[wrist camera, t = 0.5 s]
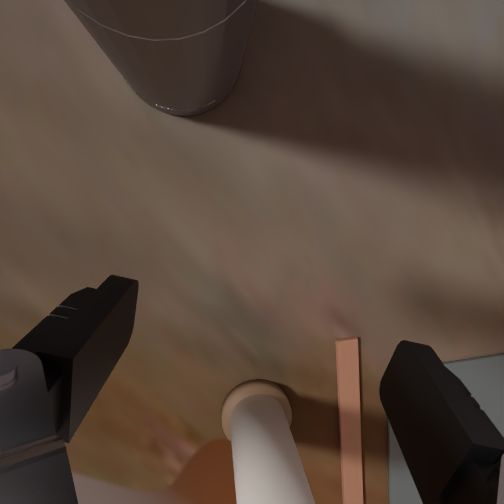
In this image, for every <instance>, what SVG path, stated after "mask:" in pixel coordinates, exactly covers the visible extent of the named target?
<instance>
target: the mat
mask: <svg viewBox="0 0 504 504" xmlns="http://www.w3.org/2000/svg"><path fill="white" fill-rule="evenodd" d="M443 364H444V365H445V367H447V368H448V369H449V370H450V371H451V372H452V373H453V374H455V375H456V376H457V377H458V378H459V379H460V380H461V381H462V382H463V384H464V385H465V386H466V388H467V389H468V390H469V392H470V393H471V397H474V398H475V400H476V401H477V402H478V404H479V405H480V406H481V407H480V409H481V410H484V412H485V413H486V414H487V416H488V417H489V418H490V420H491V421H492V422H493V424H494V425H495V426H496V428H497V429H498V431H499V432H500V433H501V435H502V436H503V437H504V353H503V354H497V355H490V356H483V357H477V358H470V359H464V360H457V361H451V362H444V363H443ZM388 454H389V504H423V503H422V500H421V498H420V495H419V493H418V491H417V488H416V486H415V483H414V481H413V478H412V476H411V473H410V471H409V469H408V466H407V464H406V461H405V459H404V456H403V454H402V451H401V449H400V447H399V444H398V442H397V439H396V437H395V434H394V432H393V429H392V427H391V425H390V422H389V420H388Z"/></svg>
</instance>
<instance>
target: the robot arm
mask: <svg viewBox="0 0 504 504" xmlns="http://www.w3.org/2000/svg"><path fill="white" fill-rule="evenodd" d="M64 1H65V2H66V3H67V5H68V6H69V7H70V8H71V10H72V11H73V12H74V14H75V15H76V16H77V18H78V19H79V20H80V21H81V23H82V24H83V25H84V27H85V28H86V29H87V31H88V32H89V33H90V34H91V36H92V37H93V38H94V40H95V41H96V42H97V44H98V45H99V46H100V47H101V49H102V50H103V51H104V53H105V54H106V55H107V57H108V58H109V59H110V60H111V62H112V63H113V64H114V66H115V67H116V68H117V70H118V71H119V72H120V74H121V75H122V76H123V78H124V79H125V80H126V81H127V83H128V84H129V85H130V87H131V88H132V89H133V90H134V91H135V92H136V94H137V95H138V96H139V97H140V98H141V99H142V100H144V101H145V102H146V103H148V104H149V105H150V106H152V107H154V108H156V109H158V110H160V111H162V112H164V113H168V114H172V115H177V116H191V115H196V114H201V113H203V112H206V111H208V110H210V109H212V108H214V107H215V106H217V105H218V104H219V103H221V102H222V101H223V100H224V99H225V98H226V96H227V95H228V94H229V93H230V92H231V90H232V88H233V86H234V84H235V83H236V81H237V78H238V74H239V71H240V68H241V64H242V60H243V57H244V54H245V50H246V46H247V42H248V38H249V35H250V31H251V27H252V23H253V19H254V15H255V12H256V8H257V4H258V0H64ZM137 295H138V281H137V280H134V279H129V278H125V277H120V276H116V275H110V276H109V277H108V278H107V279H106V280H105V281H104V282H103V283H102V284H101V285H100V286H99V287H98V288H97V289H94V288H90V287H87V288H85V289H82V290H80V291H77V292H75V293H73V294H71V295H70V296H68V297H67V298H66V299H65V300H64V301H63V302H62V303H61V304H60V305H59V307H56V308H55V309H54V310H53V311H52V312H51V313H50V315H49V316H47V317H46V318H44V319H43V320H42V321H41V322H40V323H39V324H38V325H37V326H36V327H35V328H34V329H32V330H31V331H30V332H29V333H28V334H27V335H26V336H25V337H24V338H23V339H21V340H20V341H19V342H18V343H17V344H16V345H15V346H14V347H13V348H12V349H1V350H0V504H78V501H77V496H76V492H75V487H74V482H73V478H72V473H71V469H70V464H69V460H68V455H67V451H66V446H65V443H64V442H67V443H69V442H70V440H71V438H72V437H73V435H74V433H75V432H76V430H77V428H78V427H79V425H80V423H81V422H82V420H83V418H84V417H85V415H86V413H87V412H88V410H89V408H90V407H91V405H92V403H93V402H94V400H95V398H96V397H97V395H98V393H99V392H100V390H101V388H102V387H103V385H104V384H105V382H106V380H107V379H108V377H109V375H110V374H111V372H112V370H113V369H114V367H115V365H116V364H117V362H118V360H119V359H120V357H121V355H122V354H123V352H124V350H125V349H126V347H127V345H128V343H129V340H130V338H131V335H132V331H133V326H134V319H135V311H136V303H137ZM379 393H380V400H381V403H382V405H383V408H384V410H385V412H386V415H387V417H388V420H389V422H390V425H391V427H392V429H393V432H394V434H395V437H396V439H397V442H398V444H399V447H400V449H401V451H402V454H403V456H404V459H405V461H406V464H407V466H408V469H409V471H410V473H411V476H412V478H413V481H414V483H415V486H416V488H417V491H418V493H419V495H420V498H421V500H422V503H423V504H504V437H503V436H502V435H501V433H500V432H499V431H498V429H497V428H496V426H495V425H494V424H493V422H492V421H491V420H490V418H489V417H488V416H487V414H486V413H485V412H484V410H481V409H480V407H481V406H480V405H479V404H478V402H477V401H476V400H475V398H474V397H471V393H470V392H469V390H468V389H467V388H466V386H465V385H464V384H463V382H462V381H461V380H460V379H459V378H458V377H457V376H456V375H455V374H453V373H452V372H451V371H450V370H449V369H448V368H447V367H445V365H444V364H443V363H442V361H441V360H440V359H439V357H438V356H437V354H436V353H435V352H434V350H433V349H432V348H431V347H430V346H428V345H424V344H419V343H415V342H410V341H406V340H403V341H401V342H400V343H399V344H398V345H397V347H396V349H395V352H394V354H393V356H392V358H391V360H390V362H389V364H388V366H387V369H386V371H385V373H384V375H383V377H382V379H381V383H380V390H379Z"/></svg>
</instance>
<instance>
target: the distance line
mask: <svg viewBox="0 0 504 504" xmlns="http://www.w3.org/2000/svg"><path fill="white" fill-rule="evenodd" d="M335 343H336V364H337V386H338V407H339V429H340V450H341V472H342V493H343V504H363V480H362V450H361V419H360V389H359V359H358V338H357V337H351V338H344V339H337V340H335Z"/></svg>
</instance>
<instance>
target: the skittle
mask: <svg viewBox="0 0 504 504" xmlns="http://www.w3.org/2000/svg"><path fill="white" fill-rule="evenodd" d="M291 422H292V410H291V406H290V403H289V401H288V398H287V396H286V394H285V392H284V391H283V390H282V389H281V388H280V387H279V386H278V385H276V384H275V383H273V382H270V381H267V380H262V379H255V380H249V381H246V382H243V383H241V384H239V385H238V386H236V387H235V388H233V389H232V390H231V391H230V392H229V394H228V395H227V396H226V398H225V400H224V402H223V405H222V427H223V430H224V433H225V435H226V437H227V438H228V439H229V440H230V441H231V442H232V453H233V464H234V474H235V475H234V476H235V487H236V499H237V504H315V502H314V499H313V496H312V493H311V490H310V487H309V484H308V481H307V478H306V475H305V472H304V469H303V466H302V463H301V460H300V457H299V454H298V451H297V448H296V445H295V442H294V439H293V436H292V433H291V430H290V425H291Z"/></svg>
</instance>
